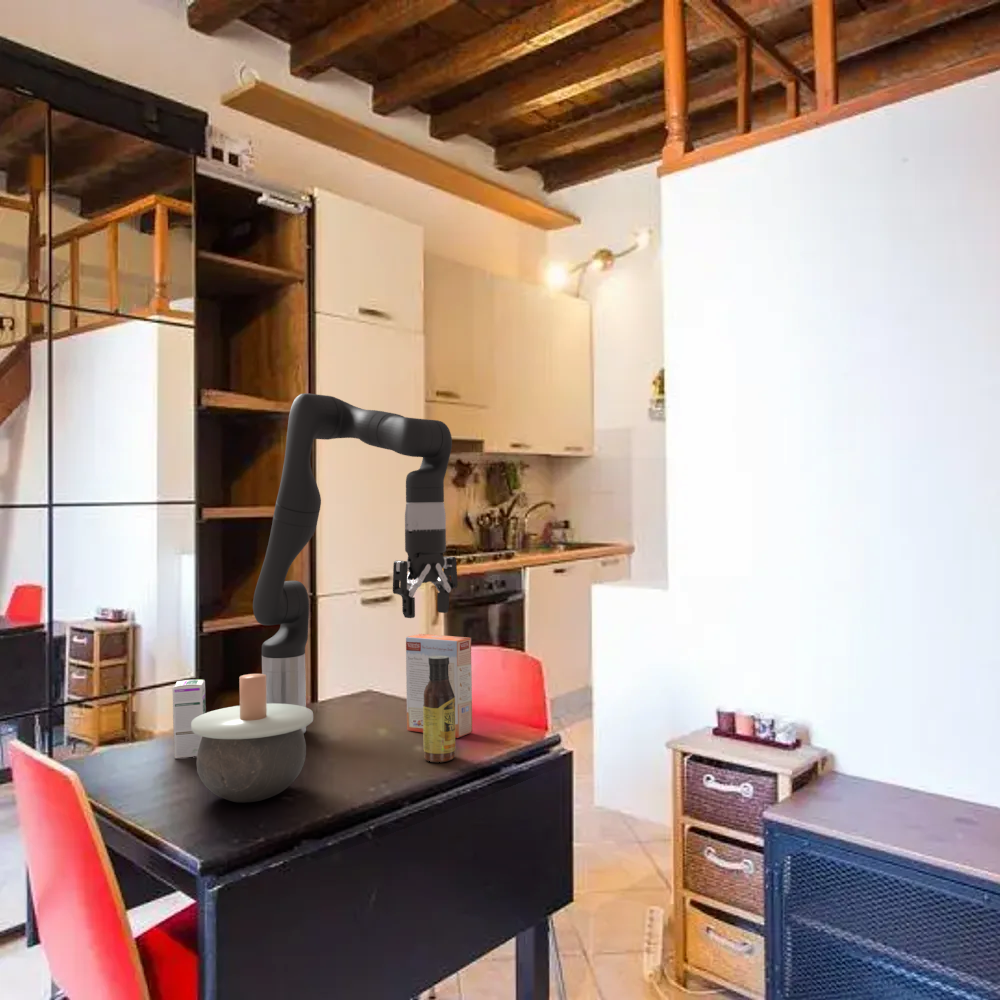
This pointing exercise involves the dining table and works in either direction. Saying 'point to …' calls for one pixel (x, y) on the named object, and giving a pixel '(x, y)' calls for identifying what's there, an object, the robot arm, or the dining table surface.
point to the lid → (252, 715)
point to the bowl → (251, 765)
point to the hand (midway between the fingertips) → (426, 615)
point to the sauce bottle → (439, 713)
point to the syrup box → (187, 715)
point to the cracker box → (458, 674)
